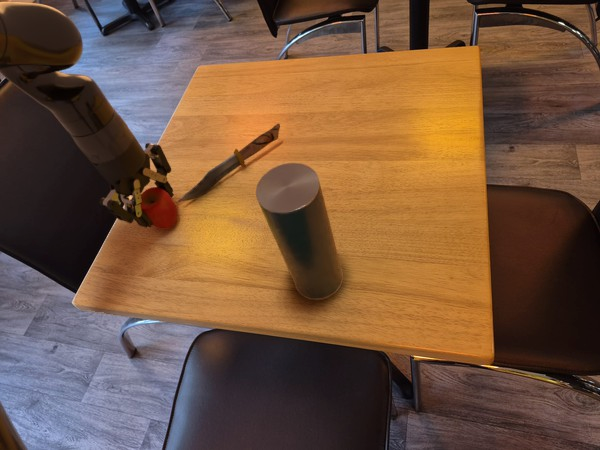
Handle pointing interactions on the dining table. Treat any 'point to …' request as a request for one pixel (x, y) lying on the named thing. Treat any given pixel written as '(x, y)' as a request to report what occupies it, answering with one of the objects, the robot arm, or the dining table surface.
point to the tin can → (301, 228)
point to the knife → (231, 164)
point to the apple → (159, 207)
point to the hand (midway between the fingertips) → (158, 210)
